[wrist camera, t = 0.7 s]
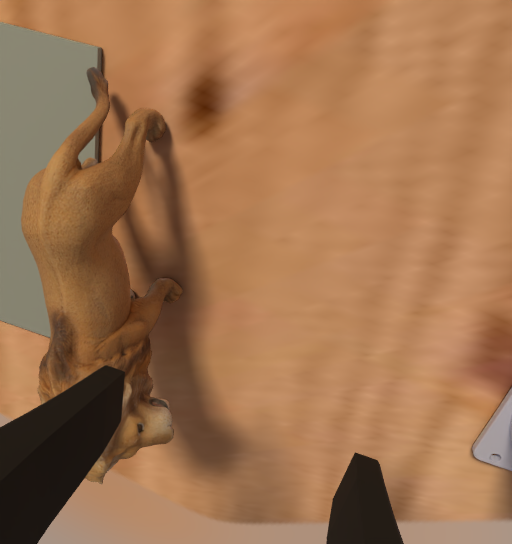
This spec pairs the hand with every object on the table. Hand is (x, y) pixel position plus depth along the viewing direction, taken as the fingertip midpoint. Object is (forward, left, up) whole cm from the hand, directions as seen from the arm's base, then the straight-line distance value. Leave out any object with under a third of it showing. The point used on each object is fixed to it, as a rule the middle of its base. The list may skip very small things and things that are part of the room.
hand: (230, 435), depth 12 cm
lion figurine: (+7, 0, -10) cm, 12 cm away
